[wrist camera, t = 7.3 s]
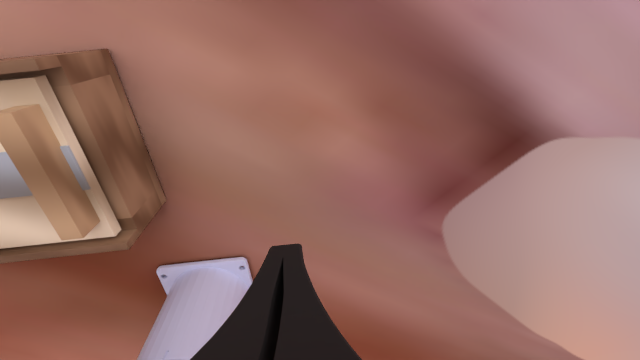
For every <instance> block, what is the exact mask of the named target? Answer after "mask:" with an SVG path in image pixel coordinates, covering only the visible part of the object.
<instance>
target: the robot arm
mask: <svg viewBox="0 0 640 360" xmlns="http://www.w3.org/2000/svg"><path fill="white" fill-rule="evenodd" d="M241 266H244V267H241ZM156 272H157V275H158V277H159V279H160V281H161V283H162V286H163V288H164V290H165V292H166V294H167V298H166V300H165V302H164V304H163V306H162V308H161V310H160V312H159V314H158V316H157V319H156V321H155V323H154V325H153V327H152V329H151V331H150V333H149V335H148V337H147V339H146V341H145V343H144V345H143V348H142V350H141V352H140V354H139V356H138V358H137V360H362V359H361V358H360V357H359V356H358V355H357V353H356V352H355V351H354V350H353V349H352V347H351V346H350V345H349V344H348V342H347V341H346V340H345V338H344V337H343V336H342V335H341V333H340V332H339V330H338V329H337V327H336V326H335V324H334V323H333V322H332V320H331V319H330V317H329V315H328V314H327V312H326V310H325V309H324V307H323V305H322V303H321V302H320V300H319V298H318V296H317V294H316V292H315V290H314V288H313V285H312V283H311V281H310V278H309V276H308V273H307V270H306V268H305V264H304V259H303V252H302V246H301V245H300V244H290V245H280V246H272V247H271V248H270V249H269V252H268V254H267V256H266V258H265V260H264V262H263V264H262V266H261V268H260V270H259V272H258V274H257V275H256V277H255V279H254V281H252V277H251V273H250V269H249V265H248V262H247V259H246V258H244V257H236V258H227V259H217V260H208V261H199V262H190V263H181V264H172V265H162V266H159V267H158V269H157V271H156ZM165 275H166V276H165Z"/></svg>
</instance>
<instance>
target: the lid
mask: <svg viewBox="0 0 640 360" xmlns="http://www.w3.org/2000/svg"><path fill="white" fill-rule="evenodd" d="M120 231H121V227H120V225H119V223H118V221H117V219H116V217H115V215H114V213H113V211H112V209H111V207H110V205H109V203H108V201H107V199H106V197H105V195H104V193H103V191H102V189H101V187H100V185H99V183H98V181H97V179H96V177H95V175H94V173H93V171H92V169H91V167H90V165H89V163H88V161H87V159H86V157H85V155H84V152H83V150H82V148H81V146H80V144H79V142H78V140H77V138H76V136H75V134H74V132H73V130H72V128H71V126H70V124H69V122H68V120H67V118H66V116H65V114H64V112H63V110H62V108H61V106H60V104H59V102H58V100H57V98H56V96H55V94H54V92H53V90H52V88H51V86H50V84H49V82H48V80H47V78H46V76H45V75H42V76H32V77H22V78H12V79H2V80H0V249H2V248H12V247H21V246H30V245H40V244H49V243H58V242H67V241H77V240H86V239H95V238H105V237H114V236H116V235H117V234H118V233H119V232H120Z"/></svg>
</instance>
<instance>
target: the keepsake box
mask: <svg viewBox="0 0 640 360" xmlns="http://www.w3.org/2000/svg"><path fill="white" fill-rule="evenodd" d="M42 75H45V76H46V78H47V80H48V82H49V84H50V86H51V88H52V90H53V92H54V94H55V96H56V98H57V100H58V102H59V104H60V106H61V108H62V110H63V112H64V114H65V116H66V118H67V120H68V122H69V124H70V126H71V128H72V130H73V132H74V134H75V136H76V138H77V140H78V142H79V144H80V146H81V148H82V150H83V152H84V155H85V157H86V159H87V161H88V163H89V165H90V167H91V169H92V171H93V173H94V175H95V177H96V179H97V181H98V183H99V185H100V187H101V189H102V191H103V193H104V195H105V197H106V199H107V201H108V203H109V205H110V207H111V209H112V211H113V213H114V215H115V217H116V219H117V221H118V223H119V225H120V227H121V231H120V232H119V233H118V234H117V235H116V236H114V237H105V238H95V239H86V240H77V241H67V242H58V243H49V244H40V245H30V246H21V247H12V248H2V249H0V263H8V262H18V261H27V260H36V259H45V258H54V257H64V256H73V255H82V254H91V253H101V252H110V251H119V250H128V249H130V248H131V246H132V245H133V244H134V242H135V241H136V240H137V238H138V237H139V236H140V234H141V233H142V232H143V230H144V229H145V228H146V226H147V225H148V224H149V222H150V221H151V220H152V218H153V217H154V216H155V214H156V213H157V212H158V210H159V209H160V208H161V206H162V205H163V204H164V202H165V201H166V198H165V196H164V193H163V191H162V188H161V185H160V183H159V180H158V178H157V175H156V172H155V170H154V167H153V165H152V162H151V159H150V157H149V154H148V152H147V149H146V146H145V144H144V141H143V139H142V136H141V134H140V131H139V128H138V126H137V123H136V121H135V118H134V115H133V113H132V110H131V108H130V105H129V102H128V100H127V97H126V95H125V92H124V89H123V87H122V84H121V82H120V79H119V76H118V74H117V71H116V69H115V66H114V63H113V61H112V58H111V56H110V53H109V51H108V49H100V50H89V51H79V52H69V53H59V54H49V55H39V56H28V57H18V58H8V59H0V80H2V79H12V78H22V77H32V76H42Z"/></svg>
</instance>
